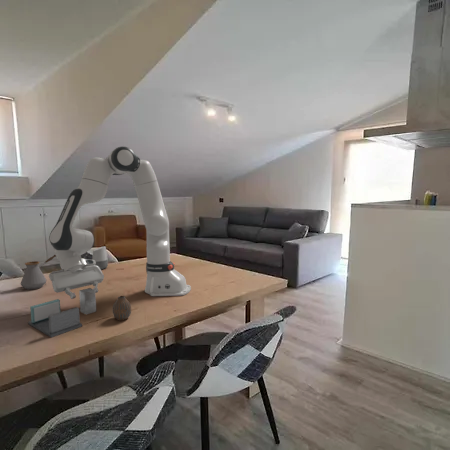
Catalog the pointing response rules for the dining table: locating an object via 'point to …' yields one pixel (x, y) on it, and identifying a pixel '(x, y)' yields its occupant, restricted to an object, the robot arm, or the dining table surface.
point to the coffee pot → (34, 275)
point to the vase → (121, 308)
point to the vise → (59, 322)
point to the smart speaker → (100, 257)
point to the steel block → (87, 301)
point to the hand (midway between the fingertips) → (85, 294)
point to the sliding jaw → (44, 310)
